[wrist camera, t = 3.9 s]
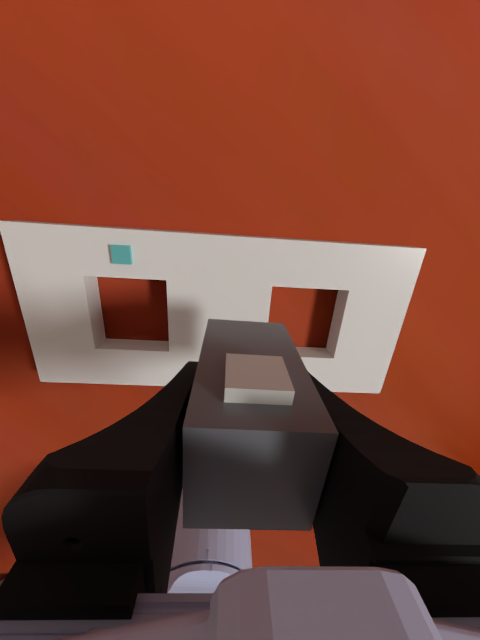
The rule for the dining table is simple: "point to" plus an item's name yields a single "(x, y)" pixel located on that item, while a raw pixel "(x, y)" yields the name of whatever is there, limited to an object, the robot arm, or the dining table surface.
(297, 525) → the plug
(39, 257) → the panel
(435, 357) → the dining table surface
